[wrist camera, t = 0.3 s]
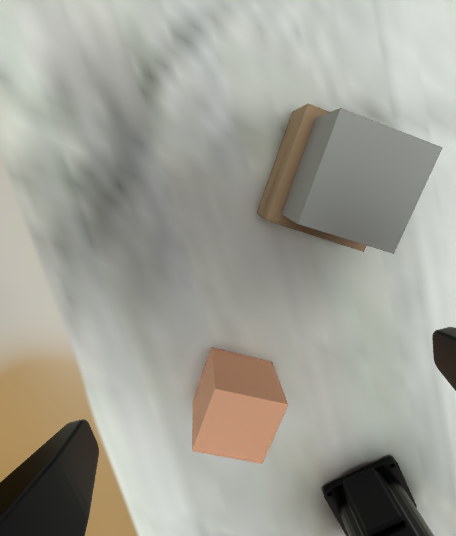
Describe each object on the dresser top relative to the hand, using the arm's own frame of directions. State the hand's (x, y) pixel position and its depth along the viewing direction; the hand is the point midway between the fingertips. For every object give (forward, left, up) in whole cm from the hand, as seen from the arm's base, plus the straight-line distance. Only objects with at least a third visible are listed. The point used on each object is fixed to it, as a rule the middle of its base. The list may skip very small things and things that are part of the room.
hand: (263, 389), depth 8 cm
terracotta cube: (-9, +4, -13) cm, 16 cm away
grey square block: (+1, -7, -11) cm, 13 cm away
